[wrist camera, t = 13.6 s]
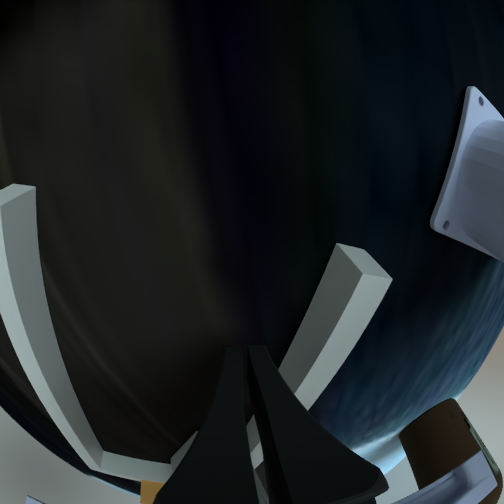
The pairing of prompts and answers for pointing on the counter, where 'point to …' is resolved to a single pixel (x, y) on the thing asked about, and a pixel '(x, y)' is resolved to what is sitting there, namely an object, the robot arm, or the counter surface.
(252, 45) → the counter surface
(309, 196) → the counter surface
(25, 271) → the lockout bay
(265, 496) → the electrical switch
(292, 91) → the counter surface
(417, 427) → the olive oil
